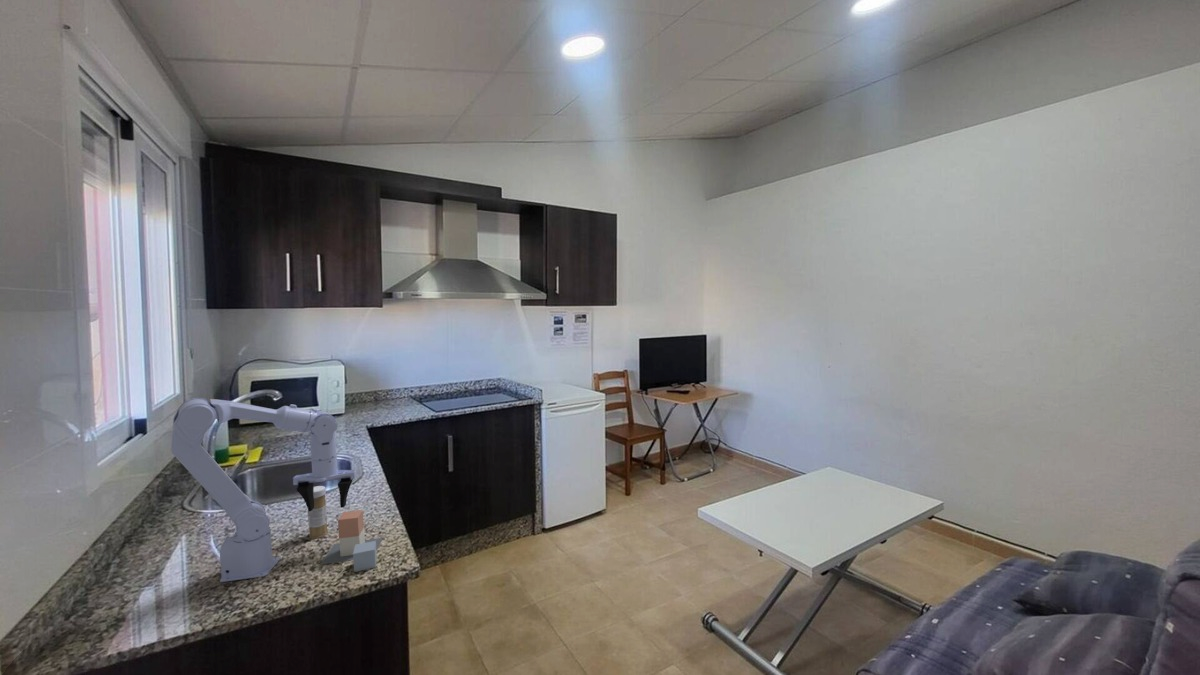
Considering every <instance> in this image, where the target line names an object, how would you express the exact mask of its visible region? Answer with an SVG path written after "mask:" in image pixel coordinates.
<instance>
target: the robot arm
mask: <svg viewBox="0 0 1200 675" xmlns="http://www.w3.org/2000/svg"><path fill="white" fill-rule="evenodd" d="M233 419H238V420H248V421H254V422H255V421H256V422H265V423H272V424H273V425H274V427H275V428H276V429H278V430H284V431H292V432H298V433H310V434H309V435H310V443H309V445H310V457H311V458H310V459H311V472H309V473H303V474H296V475H295V476H293V477H292V485H293V486H297V487H296V491H297V493H298V494H299V495H300V496H301V497H302V499H303V501H304V503H305V504H306V508H307V512H308V511H312V510H313V508H314V495H313V491H314V487H315V483H319V482H322V483H323V482H331V481H339V482H338V483H337V487H338V491H339V501H340V502H339V505H340V508H345V507H346V504H347V499H348V494H349V491H350V488H351V485H352V484H353V481H354V480H356V478H357V475H358V474H357V469H338V456H337V455H338V454H337V440H336V430H337V428H338V426H339V425H338V422H337V419H336V418H335V417H334V416H333V415H332V414H330V413H328V412H327V411H324V410H323V409H318V408H312V409H309V408H308V409H305V408H301V407H298V406H297V405H296V404H289V406H288V405H283V406H281V407H279V408H277V409H276V408H275V409H274V408H271V407H270V408H268V407H263V406H259V405H254V404H249V403H245V402H238V401H234V400H233V401H232V400H225V399H216V398H215V399H214V398H210V399H209V400H207V398H202V397H193V398H190V399H187V400H185V401H184V402H182V403H181V404H180V405H179V407H178V409H177V411H176V412H175V414H174V417H173V421H172V422H173V423H172V432H171V433H172V434H171V442H170V443H171V444H170V450H171V454H172V455H173V456H174V457H175V458H176V459H177V460H178V461H179V462H180V464H182V466H183V467H184V468H185V469H186V471H188V473H189V474H190V475H192V477H193V478H194V479H195V480H196V481H197V482H198V483H199V484H200V485H201V487H202V488H204V490H205V491H206V492H207V493H208V494H209V495H210V496H211V497H212V498H213V499H214V501H216V503H217V504H218V505H219V506H220V507H221V508H222V509H223V510H224V511H225V513H226V514H227V516H228V518H229V519H230V521H231V522H232V523H233V524H234V525H235V532H234V534H233V535H232V536H228V537H226V538H225V539H224V541H223V542H222V544H221V546H220V550H219V560H220V562H219V563H220V572H221V574H220V575H221V579H219V582H220V583H225V582H233V581H241V580H247V579H253V578H254V579H255V578H262V577H266V576H267V575H268V574H269V573H270V572H271V570H272V569H274V567H275V566H276V564H277V563H278V562H279V561H280V560H281V557H279V556H278V557H277V556H276V557H273V548H272V545H273V544H272V534H271V527H270V523H271V522H270V518H269V516H268V515H267V514H266V511H265V508H264V506H263V504H261V503H260V502H257V501H254V500H252V499H251V498H250V497H249V496H248V495H247V494H246V493H244V491H243V490H242V489H241V488H240V487H239V486H238V485H237V483H235V481H233V479H232V478H231V477H230V476H229V475H228V474H227V472H225V470H224V469H223V468H222V467H221V466H220V465H219V463H217V461H216V460H215V459H214V457H212V456H211V454H209V453H208V451H207V449H205V447H203V446H202V443H203V440H204V438H205V434H206V433H207V432H208V431H209V430H210V429H211V427H213V425H214V424H215V422H216V420H217V422H218V424H222V423H225V422H228V421H231V420H233Z"/></svg>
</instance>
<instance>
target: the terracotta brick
mask: <svg viewBox="0 0 1200 675" xmlns="http://www.w3.org/2000/svg"><path fill="white" fill-rule="evenodd" d="M364 523H365V522H364V511H363V509H359V510H352V511H351V510H350V511H343V512H342V513H341V515H340V516H339V518H338V519H337V527H338V528H337V529H338V539H339V538H347V537H355V536H359V535H360V533H361V532H362V530H363V528H364V529H365V526H364V525H365V524H364Z"/></svg>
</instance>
